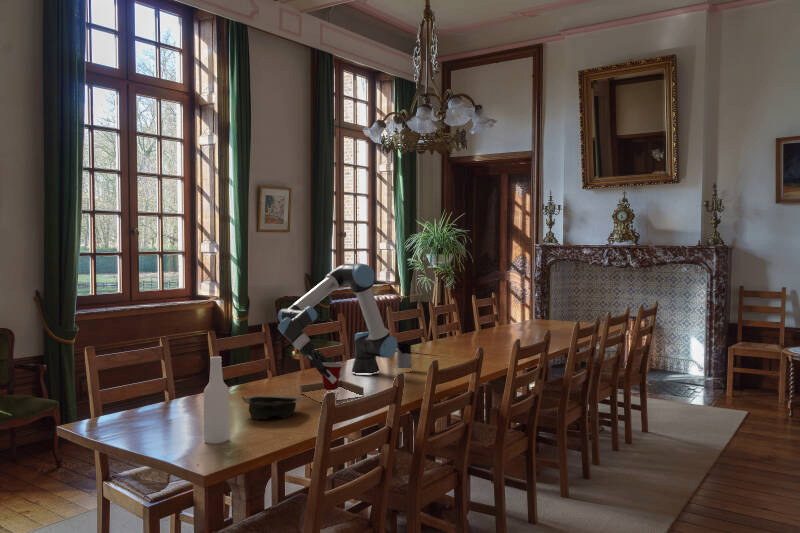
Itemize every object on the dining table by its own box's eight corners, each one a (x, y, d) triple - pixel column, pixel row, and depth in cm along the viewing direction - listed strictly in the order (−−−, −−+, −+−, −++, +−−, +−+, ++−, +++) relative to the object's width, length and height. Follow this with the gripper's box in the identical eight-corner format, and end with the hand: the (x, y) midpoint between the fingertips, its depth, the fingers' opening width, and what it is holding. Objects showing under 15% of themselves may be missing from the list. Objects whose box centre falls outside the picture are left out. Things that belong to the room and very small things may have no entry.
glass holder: (394, 370, 361) (394, 343, 361) (418, 368, 366) (418, 342, 365) (399, 372, 353) (399, 346, 353) (423, 371, 357) (423, 344, 357)
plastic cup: (345, 390, 295) (345, 364, 295) (322, 392, 291) (322, 365, 291) (339, 385, 305) (338, 360, 305) (317, 387, 301) (316, 362, 301)
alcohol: (232, 437, 232) (231, 354, 231) (226, 444, 223) (225, 358, 222) (207, 437, 232) (206, 355, 231) (201, 444, 223) (199, 359, 222)
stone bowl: (243, 425, 247) (243, 401, 247) (242, 414, 271) (241, 392, 271) (307, 419, 253) (306, 396, 254) (300, 409, 278) (299, 388, 278)
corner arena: (341, 388, 313) (341, 379, 313) (363, 397, 295) (363, 387, 294) (300, 394, 301) (300, 384, 301) (320, 403, 283) (320, 393, 283)
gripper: (305, 347, 311) (337, 380, 309) (292, 354, 288) (326, 390, 287) (316, 336, 310) (348, 369, 308) (303, 343, 288) (337, 378, 286)
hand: (337, 379), depth 297 cm, fingers closed on plastic cup, 10 cm apart
